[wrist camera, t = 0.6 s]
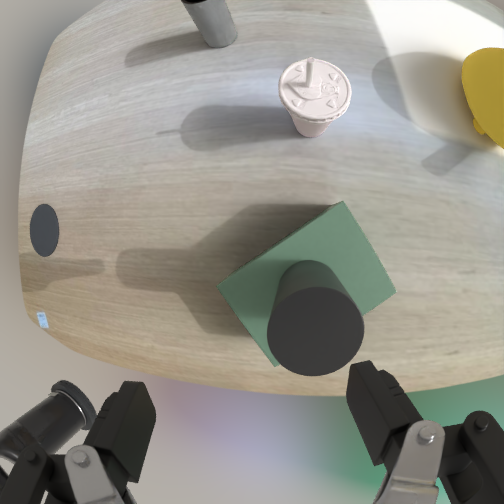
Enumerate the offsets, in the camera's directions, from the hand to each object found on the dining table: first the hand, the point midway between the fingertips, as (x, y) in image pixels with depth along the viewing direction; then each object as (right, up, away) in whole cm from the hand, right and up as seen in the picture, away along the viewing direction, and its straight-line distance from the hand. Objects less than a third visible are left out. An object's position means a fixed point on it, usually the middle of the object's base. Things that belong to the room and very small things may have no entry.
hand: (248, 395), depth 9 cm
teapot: (+35, +24, +15) cm, 45 cm away
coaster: (-36, +9, +28) cm, 46 cm away
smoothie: (+7, +20, +20) cm, 29 cm away
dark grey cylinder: (+5, +2, +15) cm, 16 cm away
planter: (-4, +35, +20) cm, 41 cm away
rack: (+6, +3, +22) cm, 23 cm away
